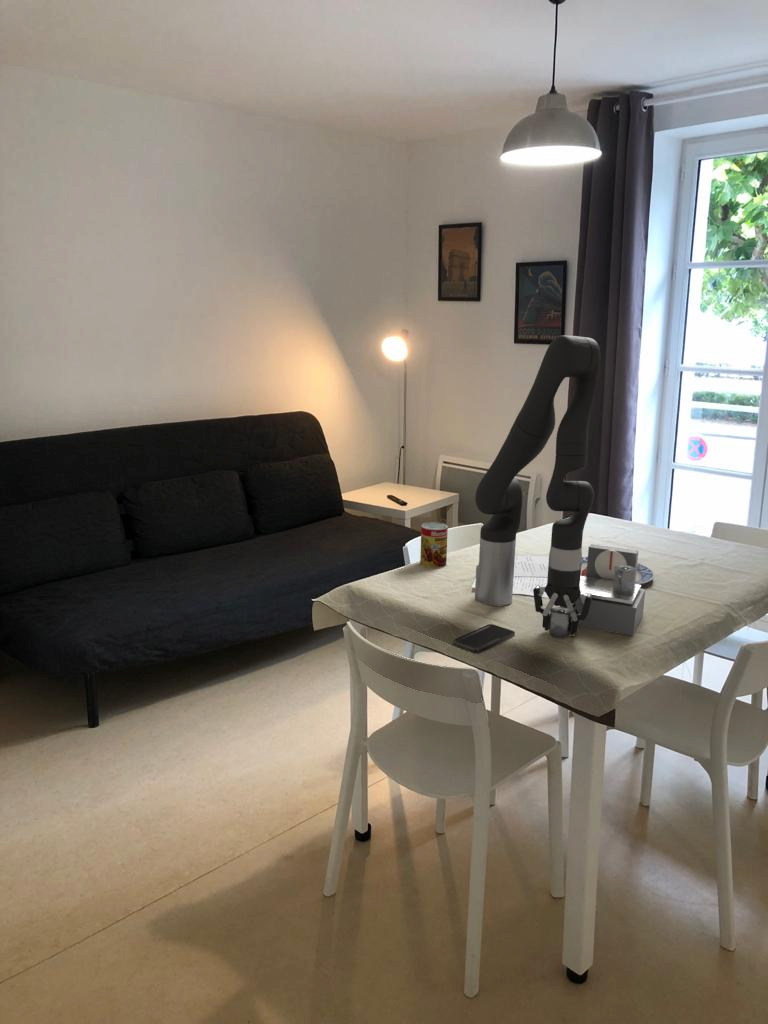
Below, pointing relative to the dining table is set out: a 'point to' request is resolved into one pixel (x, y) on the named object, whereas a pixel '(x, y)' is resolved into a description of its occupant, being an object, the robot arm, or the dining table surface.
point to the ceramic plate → (642, 572)
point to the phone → (484, 638)
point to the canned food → (433, 545)
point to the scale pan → (605, 590)
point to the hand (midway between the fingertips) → (559, 631)
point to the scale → (605, 611)
